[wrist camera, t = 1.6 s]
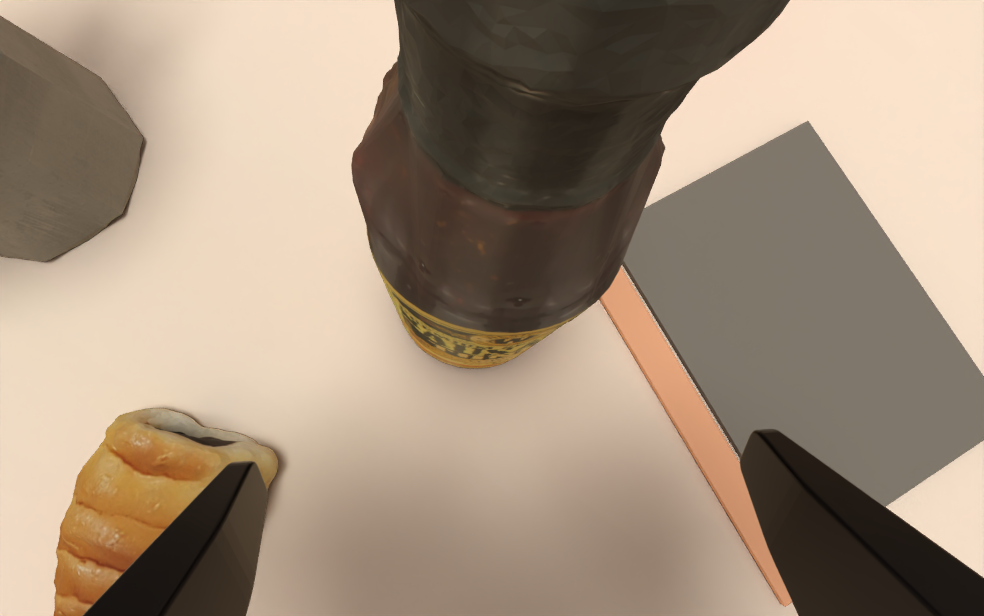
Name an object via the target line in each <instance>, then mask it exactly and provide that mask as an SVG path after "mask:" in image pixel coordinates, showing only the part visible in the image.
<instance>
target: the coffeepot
mask: <svg viewBox="0 0 984 616" xmlns="http://www.w3.org/2000/svg"><path fill="white" fill-rule="evenodd" d="M142 141H143V137H142V135H141V134H140V132H139V131H138V130H137V128H136V127H135V125H134V124H133V122H132V121H131V119H130V117H129V115H128V114H127V112H126V111H125V110H124V108H123V107H122V106H121V105H120V104H119V103H118V101H117V100H116V98H115V97H114V95H113V94H112V93H111V91H110V90H109V88H108V87H107V86H106V84H105V83H104V81H103V80H102V78H101V77H99V76H97V75H96V74H94V73H93V72H91V71H89V70H88V69H86V68H84V67H83V66H81V65H80V64H78V63H76V62H75V61H73V60H71V59H70V58H68V57H67V56H65V55H63V54H62V53H60V52H58V51H57V50H55V49H53V48H52V47H50V46H49V45H47V44H45V43H44V42H42V41H40V40H39V39H37V38H36V37H34V36H32V35H31V34H29V33H27V32H26V31H24V30H23V29H21V28H19V27H18V26H16V25H14V24H13V23H11V22H10V21H8V20H6V19H5V18H3V17H1V16H0V256H2V257H8V258H21V259H28V260H35V261H42V262H46V261H48V260H50V259H52V258H54V257H56V256H58V255H60V254H62V253H64V252H66V251H68V250H70V249H72V248H74V247H76V246H78V245H80V244H82V243H84V242H86V241H88V240H90V239H91V238H92V237H94V236H95V235H96V234H98V233H99V232H100V231H102V230H103V229H104V228H106V227H107V226H108V225H109V223H110V222H111V221H112V220H113V219H115V218H117V217H118V216H120V215H121V214H122V213H123V211H124V209H125V207H126V204H127V202H128V200H129V198H130V195H131V193H132V190H133V188H134V185H135V183H136V180H137V176H138V170H139V164H140V148H141V145H142Z"/></svg>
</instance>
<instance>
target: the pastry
mask: <svg viewBox="0 0 984 616" xmlns="http://www.w3.org/2000/svg"><path fill="white" fill-rule="evenodd" d="M235 461H254V462H256V463H257V465H258V467H259V470H260V472H261V475H262V477H263V480H264V482H265V485H266V487H267V490H268V488H269V484H270V483H271V481H272V480H273V478H274V477H275V475H276V473H277V467H278V459H277V457H276V455H275V453H274V452H273V451H272V450H271V449H270V448H268V447H265V446H261V445H258V443H257V442H256V441H255V440H253V439H251V438H249V437H247V436H245V435H241V434H239V433H237V432H229V431H223V430H220V429H215V428H206V427H202V426H201V425H199V424H198V423H196V422H195V420H194V419H192V418H190V417H189V416H187V415H185V414H183V413H179V412H174V411H171V410H168V409H164V408H150V409H143V410H138V411H133V412H129V413H126V414H123V415H120V416H118V417H117V418H116V419H115V422H114V423H113V424H112V425H110V426H109V427H108V428H107V430H106V438H105V439H104V441H103V442H102V443H101V445H100V446H99V448H98V449H97V451H96V452H95V453H94V454H93V456H92V457H91V458H90V459H89V460H88V462H87V463H86V464H85V465H84V466H83V468H82V470H81V472H80V473H79V475H78V477H77V480H76V485H75V490H74V493H73V500H72V503H71V505H70V507H69V508H68V510H67V512H66V515H65V518H64V520H63V522H62V523H61V526H60V538H59V543H58V547H57V550H56V554H57V558H58V565H57V568H56V574H55V580H54V584H55V587H56V593H55V611H54V616H82V615H83V614H84V613H85V612H86V611H87V610H88V609H89V608H90V607H91V606H92V605H93V604H94V603H95V602H96V601H97V600H98V599H99V598H100V596H101V595H102V594H103V593H104V592H105V591H106V590H107V589H108V588H109V587H110V586H111V585H112V584H113V583H114V582H115V581H116V580H117V579H118V578H119V577H120V576H121V575H122V574H123V573H124V571H125V570H126V569H127V568H128V567H129V566H130V565H131V564H132V563H133V562H134V561H135V560H136V559H137V558H138V557H139V556H140V555H141V554H142V553H143V552H144V551H145V550H146V549H147V548H148V547H149V545H150V544H151V543H152V542H153V541H154V540H155V539H156V538H157V537H158V536H159V535H160V534H161V533H162V532H163V531H164V530H165V529H166V528H167V527H168V526H169V525H170V524H171V523H172V522H173V520H174V519H175V518H176V517H177V516H178V515H179V514H180V513H181V512H182V511H183V510H184V509H185V508H186V507H187V506H188V505H189V504H190V503H191V502H192V501H193V500H194V499H195V498H196V497H197V495H198V494H199V493H200V492H201V491H202V490H203V489H204V488H205V487H206V486H207V485H208V484H209V483H210V482H211V481H212V480H213V479H214V478H215V477H216V476H217V475H218V474H219V473H220V472H221V470H222V469H223V468H224V467H225V466H226V465H228V464H229V463H231V462H235Z"/></svg>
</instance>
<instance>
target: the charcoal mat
mask: <svg viewBox="0 0 984 616" xmlns="http://www.w3.org/2000/svg"><path fill="white" fill-rule="evenodd" d="M622 264H623V266H624V267H625V269H626V271H627V272H628V274H629V276H630V277H631V279H632V281H633V282H634V284H635V285H636V287H637V289H638V290H639V292H640V294H641V295H642V297H643V299H644V300H645V302H646V304H647V305H648V307H649V309H650V310H651V312H652V313H653V315H654V317H655V318H656V320H657V322H658V323H659V325H660V327H661V328H662V330H663V332H664V333H665V335H666V337H667V338H668V340H669V341H670V343H671V345H672V346H673V348H674V350H675V351H676V353H677V355H678V356H679V358H680V360H681V361H682V363H683V365H684V366H685V368H686V369H687V371H688V373H689V374H690V376H691V378H692V379H693V381H694V383H695V384H696V386H697V388H698V389H699V391H700V393H701V394H702V396H703V397H704V399H705V401H706V402H707V404H708V406H709V407H710V409H711V411H712V412H713V414H714V416H715V417H716V419H717V421H718V422H719V424H720V425H721V427H722V429H723V430H724V432H725V434H726V435H727V437H728V439H729V440H730V442H731V444H732V445H733V447H734V449H735V450H736V452H737V453H738V455H739V457H740V458H741V455H742V453H743V450H744V448H745V446H746V443H747V441H748V439H749V436H750V434H751V433H752V432H753V431H754V430H760V429H776V430H778V431H780V432H782V433H783V434H784V435H786V436H787V437H789V438H790V439H791V440H793V441H794V442H796V443H797V444H798V445H800V446H801V447H803V448H804V449H805V450H807V451H808V452H809V453H811V454H812V455H814V456H815V457H816V458H818V459H819V460H821V461H822V462H823V463H825V464H826V465H828V466H829V467H830V468H832V469H833V470H834V471H836V472H837V473H839V474H840V475H841V476H843V477H844V478H846V479H847V480H848V481H850V482H851V483H853V484H854V485H855V486H857V487H858V488H860V489H861V490H862V491H864V492H865V493H866V494H868V495H869V496H871V497H872V498H873V499H875V500H876V501H878V502H879V503H880V504H882V505H883V506H885V507H886V506H887V505H888V504H890V503H891V502H893V501H894V500H896V499H897V498H899V497H900V496H902V495H903V494H905V493H906V492H908V491H909V490H911V489H912V488H914V487H915V486H917V485H918V484H920V483H921V482H922V481H924V480H925V479H927V478H928V477H930V476H931V475H933V474H934V473H936V472H937V471H939V470H940V469H942V468H943V467H945V466H946V465H948V464H949V463H951V462H952V461H954V460H955V459H956V458H958V457H959V456H961V455H962V454H964V453H965V452H967V451H968V450H970V449H971V448H973V447H974V446H976V445H977V444H979V443H980V442H982V441H983V440H984V376H983V375H982V373H981V372H980V370H979V369H978V367H977V366H976V364H975V363H974V362H973V360H972V359H971V357H970V356H969V354H968V353H967V351H966V350H965V348H964V347H963V346H962V344H961V343H960V341H959V340H958V338H957V337H956V335H955V334H954V332H953V331H952V330H951V328H950V327H949V325H948V324H947V322H946V321H945V319H944V318H943V316H942V315H941V314H940V312H939V311H938V309H937V308H936V306H935V305H934V303H933V302H932V300H931V299H930V298H929V296H928V295H927V293H926V292H925V290H924V289H923V287H922V286H921V284H920V283H919V282H918V280H917V279H916V277H915V276H914V274H913V273H912V271H911V270H910V268H909V267H908V266H907V264H906V263H905V261H904V260H903V258H902V257H901V255H900V254H899V252H898V251H897V250H896V248H895V247H894V245H893V244H892V242H891V241H890V239H889V238H888V236H887V235H886V233H885V232H884V231H883V229H882V228H881V226H880V225H879V223H878V222H877V220H876V219H875V217H874V216H873V215H872V213H871V212H870V210H869V209H868V207H867V206H866V204H865V203H864V201H863V200H862V199H861V197H860V196H859V194H858V193H857V191H856V190H855V188H854V187H853V185H852V184H851V183H850V181H849V180H848V178H847V177H846V175H845V174H844V172H843V171H842V169H841V168H840V167H839V165H838V164H837V162H836V161H835V159H834V158H833V156H832V155H831V153H830V152H829V151H828V149H827V148H826V146H825V145H824V143H823V142H822V140H821V139H820V137H819V136H818V135H817V133H816V132H815V130H814V129H813V127H812V126H811V124H810V123H809V121H807V122H805V123H803V124H801V125H799V126H797V127H796V128H794V129H792V130H790V131H788V132H786V133H784V134H783V135H781V136H779V137H777V138H775V139H773V140H771V141H769V142H768V143H766V144H764V145H762V146H760V147H758V148H756V149H755V150H753V151H751V152H749V153H747V154H745V155H743V156H741V157H740V158H738V159H736V160H734V161H732V162H730V163H728V164H726V165H725V166H723V167H721V168H719V169H717V170H715V171H713V172H712V173H710V174H708V175H706V176H704V177H702V178H700V179H698V180H697V181H695V182H693V183H691V184H689V185H687V186H685V187H684V188H682V189H680V190H678V191H676V192H674V193H672V194H670V195H669V196H667V197H665V198H663V199H661V200H659V201H657V202H656V203H654V204H652V205H650V206H648V207H646V208H644V209H643V211H642V214H641V217H640V219H639V222H638V224H637V227H636V229H635V232H634V234H633V237H632V239H631V242H630V244H629V247H628V249H627V252H626V255H625V257H624V260H623V262H622Z"/></svg>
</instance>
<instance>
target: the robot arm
mask: <svg viewBox="0 0 984 616" xmlns="http://www.w3.org/2000/svg"><path fill="white" fill-rule="evenodd" d="M740 468H741V472H742V475H743V478H744V481H745V484H746V487H747V490H748V493H749V495H750V498H751V501H752V504H753V507H754V510H755V513H756V516H757V519H758V522H759V525H760V528H761V530H762V533H763V536H764V539H765V542H766V544H767V547H768V549H769V552H770V554H771V556H772V559H773V561H774V563H775V565H776V568H777V570H778V572H779V574H780V576H781V578H782V581H783V583H784V585H785V587H786V589H787V591H788V594H789V596H790V598H791V600H792V602H793V604H794V607H795V609H796V611H797V613H798V615H799V616H984V578H983V577H982V576H980V575H979V574H978V573H976V572H975V571H973V570H972V569H971V568H969V567H968V566H967V565H965V564H964V563H962V562H961V561H960V560H958V559H957V558H955V557H954V556H953V555H951V554H950V553H948V552H947V551H946V550H944V549H943V548H942V547H940V546H939V545H937V544H936V543H935V542H933V541H932V540H930V539H929V538H928V537H926V536H925V535H923V534H922V533H921V532H919V531H918V530H916V529H915V528H914V527H912V526H911V525H910V524H908V523H907V522H905V521H904V520H903V519H901V518H900V517H898V516H897V515H896V514H894V513H893V512H891V511H890V510H889V509H887V508H886V507H885V506H883V505H882V504H880V503H879V502H878V501H876V500H875V499H873V498H872V497H871V496H869V495H868V494H866V493H865V492H864V491H862V490H861V489H860V488H858V487H857V486H855V485H854V484H853V483H851V482H850V481H848V480H847V479H846V478H844V477H843V476H841V475H840V474H839V473H837V472H836V471H834V470H833V469H832V468H830V467H829V466H828V465H826V464H825V463H823V462H822V461H821V460H819V459H818V458H816V457H815V456H814V455H812V454H811V453H809V452H808V451H807V450H805V449H804V448H803V447H801V446H800V445H798V444H797V443H796V442H794V441H793V440H791V439H790V438H789V437H787V436H786V435H784V434H783V433H782V432H780V431H778V430H776V429H760V430H754V431H753V432H752V433H751V434H750V436H749V439H748V441H747V443H746V446H745V448H744V450H743V453H742V455H741V458H740ZM267 502H268V492H267V487H266V485H265V482H264V480H263V477H262V475H261V472H260V470H259V467H258V465H257V463H256V462H254V461H235V462H231V463H229V464H228V465H226V466H225V467H224V468H223V469H222V470H221V472H220V473H219V474H218V475H217V476H216V477H215V478H214V479H213V480H212V481H211V482H210V483H209V484H208V485H207V486H206V487H205V488H204V489H203V490H202V491H201V492H200V493H199V494H198V495H197V497H196V498H195V499H194V500H193V501H192V502H191V503H190V504H189V505H188V506H187V507H186V508H185V509H184V510H183V511H182V512H181V513H180V514H179V515H178V516H177V517H176V518H175V519H174V520H173V522H172V523H171V524H170V525H169V526H168V527H167V528H166V529H165V530H164V531H163V532H162V533H161V534H160V535H159V536H158V537H157V538H156V539H155V540H154V541H153V542H152V543H151V544H150V545H149V547H148V548H147V549H146V550H145V551H144V552H143V553H142V554H141V555H140V556H139V557H138V558H137V559H136V560H135V561H134V562H133V563H132V564H131V565H130V566H129V567H128V568H127V569H126V570H125V571H124V573H123V574H122V575H121V576H120V577H119V578H118V579H117V580H116V581H115V582H114V583H113V584H112V585H111V586H110V587H109V588H108V589H107V590H106V591H105V592H104V593H103V594H102V595H101V596H100V598H99V599H98V600H97V601H96V602H95V603H94V604H93V605H92V606H91V607H90V608H89V609H88V610H87V611H86V612H85V613H84V614H83V615H82V616H246V613H247V609H248V606H249V602H250V598H251V594H252V590H253V585H254V580H255V575H256V569H257V563H258V557H259V551H260V545H261V538H262V532H263V526H264V520H265V514H266V508H267Z"/></svg>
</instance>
